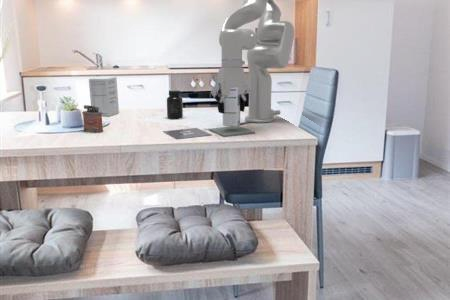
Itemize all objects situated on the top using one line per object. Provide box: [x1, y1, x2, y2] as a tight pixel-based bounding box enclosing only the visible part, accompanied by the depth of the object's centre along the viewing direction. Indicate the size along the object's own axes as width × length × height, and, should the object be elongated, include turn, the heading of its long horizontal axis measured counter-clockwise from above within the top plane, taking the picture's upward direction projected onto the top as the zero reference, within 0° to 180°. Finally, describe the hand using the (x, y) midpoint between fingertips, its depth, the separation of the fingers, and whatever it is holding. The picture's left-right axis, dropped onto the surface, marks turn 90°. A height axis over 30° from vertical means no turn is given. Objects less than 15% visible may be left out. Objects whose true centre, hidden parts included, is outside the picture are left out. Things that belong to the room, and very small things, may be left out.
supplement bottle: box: [166, 89, 184, 120], centre depth 198 cm, size 7×7×12 cm
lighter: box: [82, 104, 104, 134], centre depth 171 cm, size 8×3×10 cm, turn 71°
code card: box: [162, 127, 213, 140], centre depth 168 cm, size 14×14×1 cm
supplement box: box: [88, 76, 120, 117], centre depth 206 cm, size 10×9×17 cm
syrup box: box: [222, 87, 241, 127], centre depth 169 cm, size 6×6×14 cm
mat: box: [208, 125, 256, 138], centre depth 171 cm, size 13×13×1 cm
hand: (231, 111), depth 169 cm, fingers closed on syrup box, 8 cm apart
